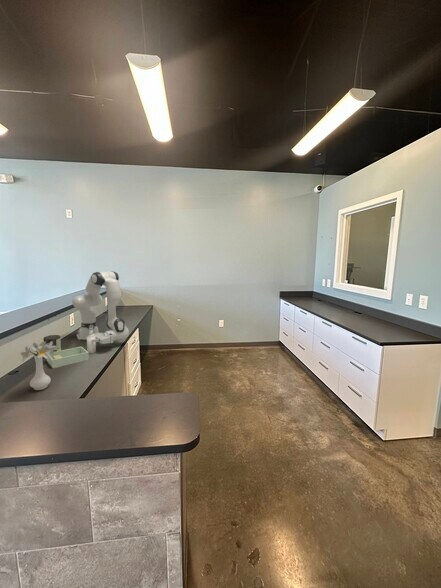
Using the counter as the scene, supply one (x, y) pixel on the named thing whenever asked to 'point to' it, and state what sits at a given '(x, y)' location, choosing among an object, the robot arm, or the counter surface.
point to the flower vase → (39, 363)
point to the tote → (68, 357)
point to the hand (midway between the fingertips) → (89, 340)
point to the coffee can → (54, 339)
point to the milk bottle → (91, 345)
